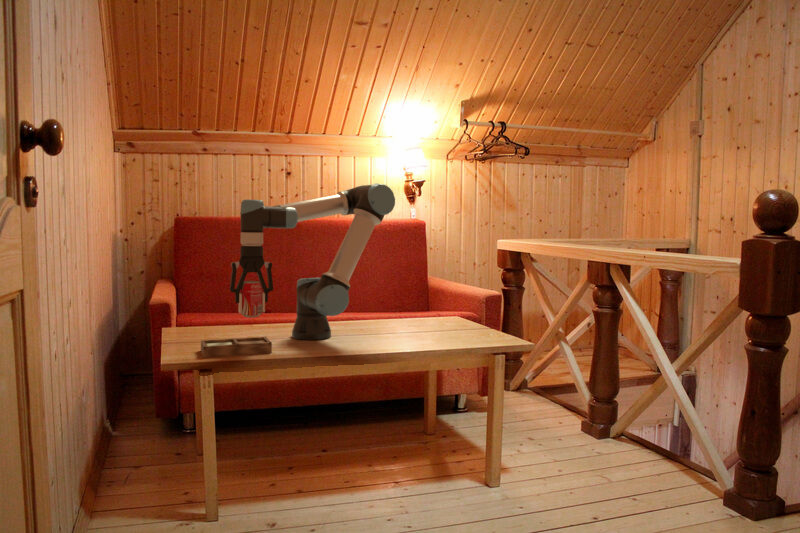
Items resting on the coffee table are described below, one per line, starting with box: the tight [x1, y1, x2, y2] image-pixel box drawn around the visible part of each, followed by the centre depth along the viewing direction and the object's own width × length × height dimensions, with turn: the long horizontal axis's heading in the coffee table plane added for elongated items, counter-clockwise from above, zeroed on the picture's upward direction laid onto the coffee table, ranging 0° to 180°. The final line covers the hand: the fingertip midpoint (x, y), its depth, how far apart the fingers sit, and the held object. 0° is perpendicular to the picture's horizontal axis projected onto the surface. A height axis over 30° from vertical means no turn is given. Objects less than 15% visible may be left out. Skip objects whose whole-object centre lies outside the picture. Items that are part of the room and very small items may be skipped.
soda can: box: [240, 280, 263, 319], centre depth 193 cm, size 7×7×12 cm
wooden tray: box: [200, 336, 273, 358], centre depth 193 cm, size 22×11×4 cm, turn 113°
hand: (251, 311), depth 194 cm, fingers closed on soda can, 7 cm apart
